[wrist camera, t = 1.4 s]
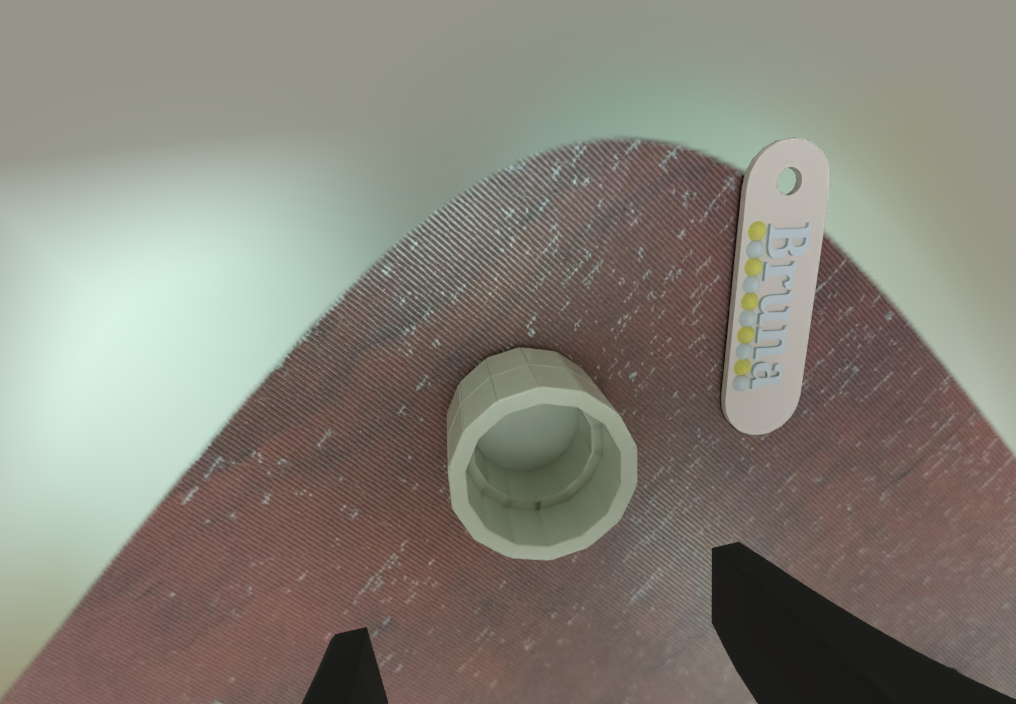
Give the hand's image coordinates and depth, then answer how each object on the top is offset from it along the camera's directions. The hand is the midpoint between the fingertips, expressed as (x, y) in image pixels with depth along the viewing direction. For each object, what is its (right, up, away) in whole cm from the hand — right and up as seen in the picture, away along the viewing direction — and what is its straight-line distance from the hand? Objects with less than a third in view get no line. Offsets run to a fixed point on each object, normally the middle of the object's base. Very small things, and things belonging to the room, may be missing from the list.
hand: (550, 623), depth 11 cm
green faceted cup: (0, +3, +9) cm, 9 cm away
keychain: (+7, +7, +8) cm, 13 cm away
